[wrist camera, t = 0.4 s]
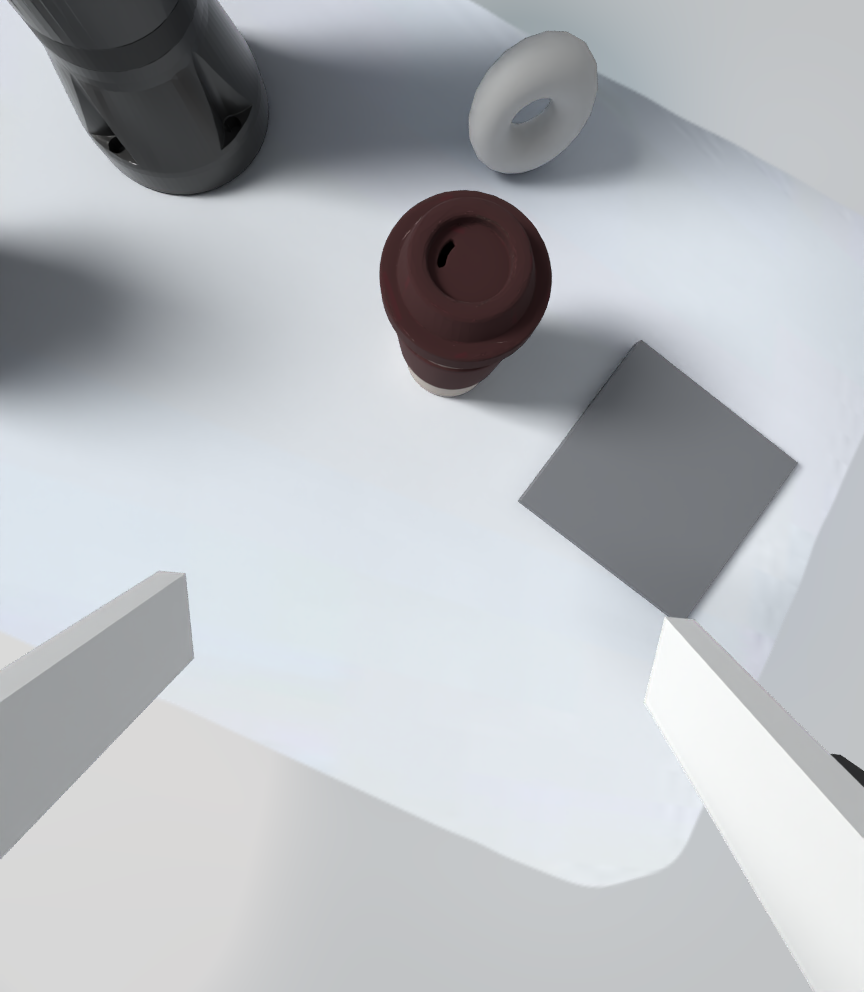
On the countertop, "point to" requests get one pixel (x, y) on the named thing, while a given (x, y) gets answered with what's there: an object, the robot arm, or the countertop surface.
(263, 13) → the countertop surface
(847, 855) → the robot arm
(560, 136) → the donut
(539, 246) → the coffee cup
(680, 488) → the mat
